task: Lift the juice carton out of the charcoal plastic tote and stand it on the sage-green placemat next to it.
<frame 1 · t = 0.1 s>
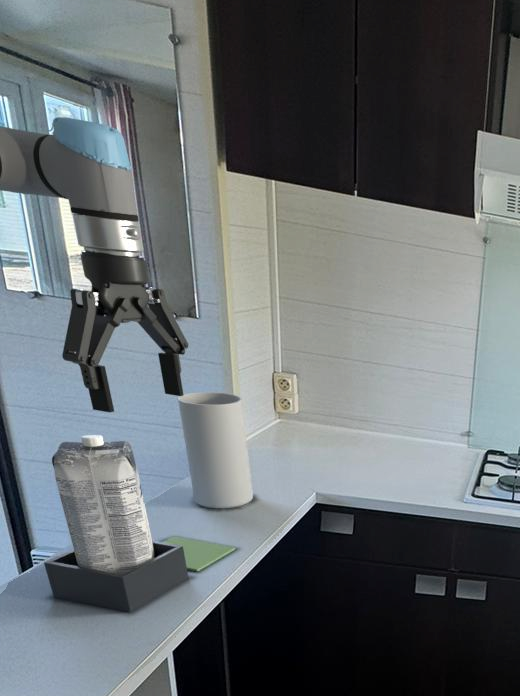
hand: (141, 402, 97), 36 cm above the table, tool pointing down, fingers open, 13 cm apart
placemat: (185, 554, 128), on the table
juice carton: (123, 584, 114), point 1 cm above the table, touching tote
tote: (124, 587, 114), on the table
cylinder vase: (224, 500, 154), on the table
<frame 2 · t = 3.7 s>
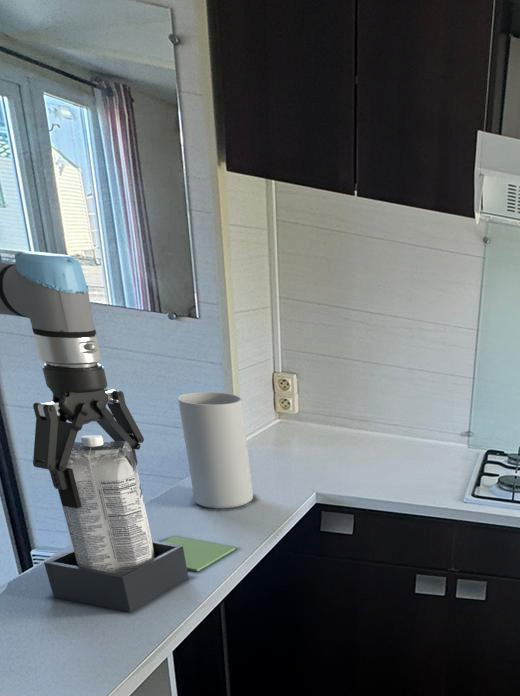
hand: (103, 495, 107), 18 cm above the table, tool pointing down, fingers closed on juice carton, 11 cm apart
juice carton: (123, 584, 114), point 1 cm above the table, touching gripper, tote
everything else where it was.
when the fingers open (18 cm above the table, at t = 11.5 s): juice carton stays where it is, resting on placemat.
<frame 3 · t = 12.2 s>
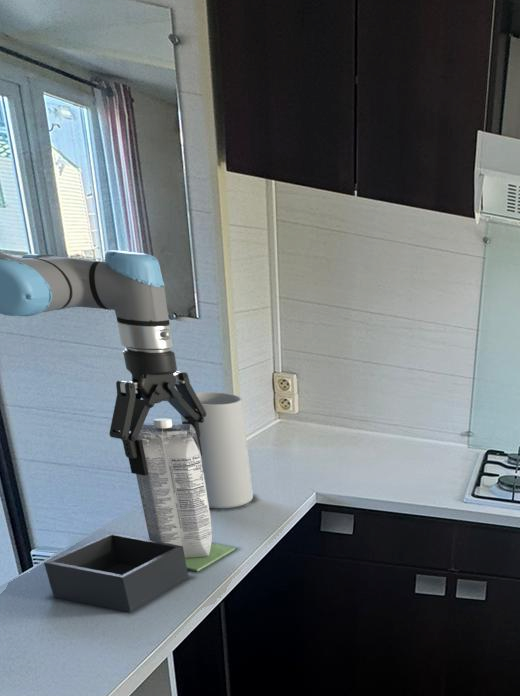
hand: (168, 463, 120), 19 cm above the table, tool pointing down, fingers open, 13 cm apart
juice carton: (185, 552, 128), resting on placemat
everything else where it was.
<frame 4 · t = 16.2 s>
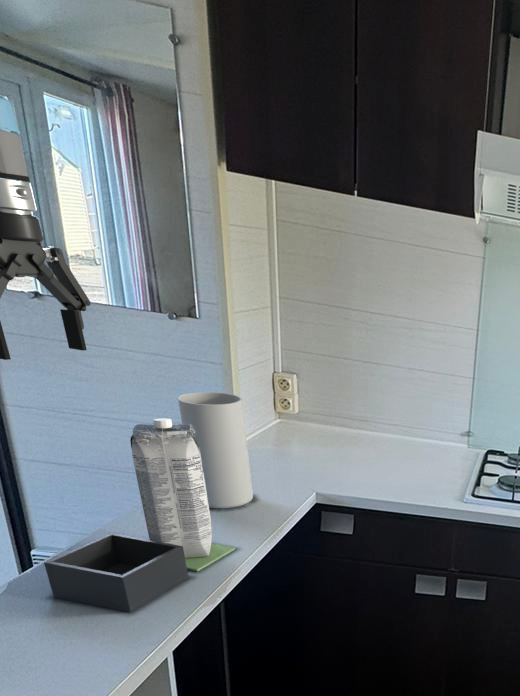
hand: (41, 353, 105), 39 cm above the table, tool pointing down, fingers open, 13 cm apart
nothing on the table moved.
at the end: juice carton inside the target area on the placemat (0.0 cm from its centre), point 0.3 cm above the placemat's base; juice carton tilted 0°; the gripper is holding nothing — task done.
